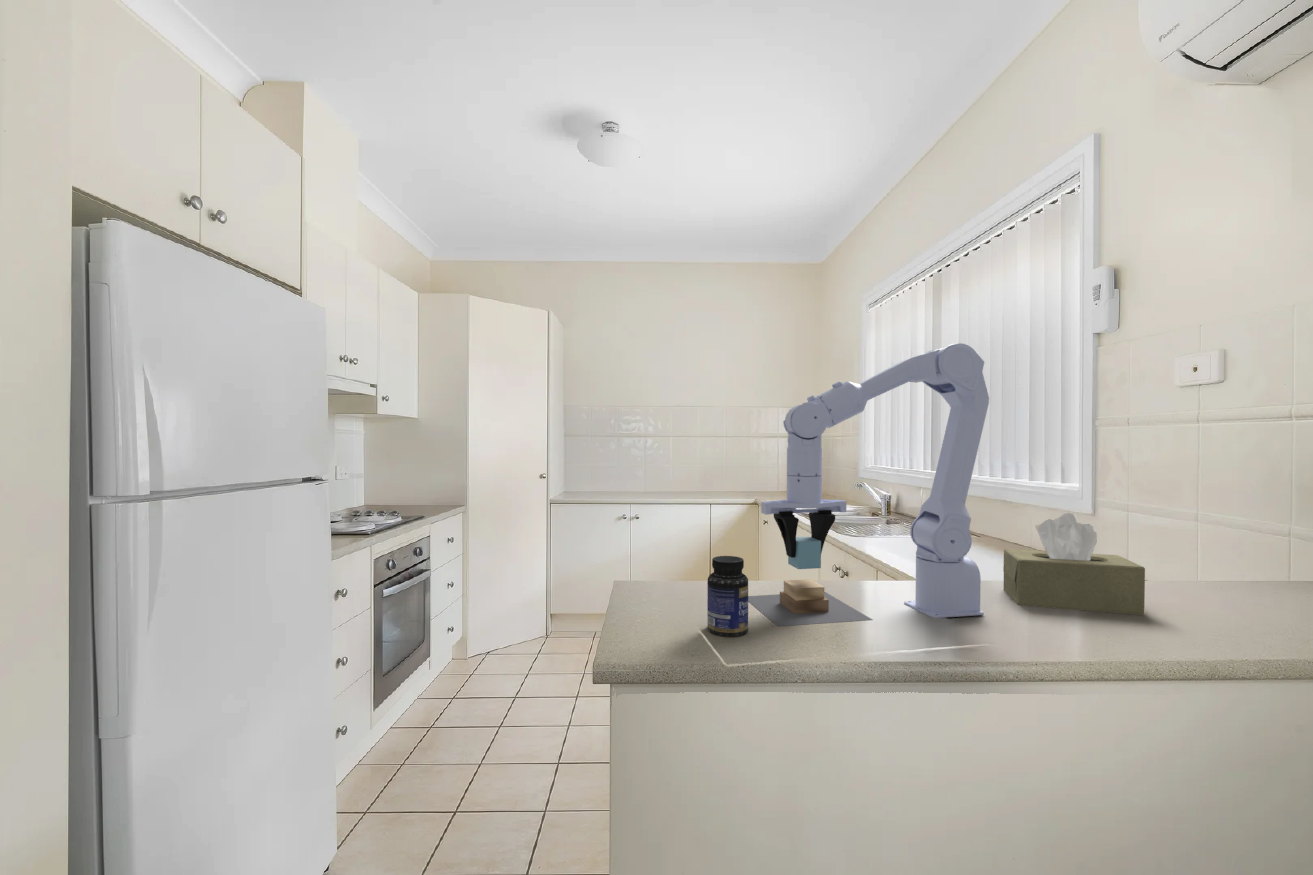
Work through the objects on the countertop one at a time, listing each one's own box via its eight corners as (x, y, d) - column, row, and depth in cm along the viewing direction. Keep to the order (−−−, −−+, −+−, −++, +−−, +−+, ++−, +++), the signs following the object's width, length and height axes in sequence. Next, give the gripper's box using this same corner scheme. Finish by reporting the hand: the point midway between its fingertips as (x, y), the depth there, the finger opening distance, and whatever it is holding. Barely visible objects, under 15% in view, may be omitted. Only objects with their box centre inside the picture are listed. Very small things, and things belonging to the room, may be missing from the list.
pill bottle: (747, 640, 84) (747, 564, 84) (705, 637, 85) (705, 562, 85) (749, 626, 90) (749, 555, 90) (709, 623, 91) (709, 553, 91)
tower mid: (810, 590, 101) (810, 579, 101) (824, 599, 97) (824, 587, 97) (783, 592, 101) (783, 580, 100) (796, 600, 96) (796, 588, 96)
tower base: (811, 601, 102) (812, 589, 102) (828, 611, 96) (828, 599, 96) (779, 603, 101) (779, 591, 101) (794, 614, 95) (794, 601, 95)
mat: (824, 593, 108) (824, 591, 108) (872, 621, 92) (872, 619, 92) (742, 598, 105) (742, 596, 105) (777, 628, 89) (777, 626, 89)
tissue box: (1120, 599, 105) (1121, 512, 105) (1147, 616, 96) (1148, 520, 95) (1001, 590, 111) (1002, 507, 110) (1015, 605, 101) (1017, 514, 101)
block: (809, 562, 101) (810, 536, 101) (820, 568, 97) (820, 541, 97) (788, 563, 100) (788, 537, 100) (798, 569, 96) (798, 541, 96)
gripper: (832, 472, 104) (831, 549, 104) (754, 473, 101) (754, 552, 101) (853, 476, 97) (852, 557, 97) (770, 477, 94) (770, 561, 94)
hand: (803, 555), depth 98 cm, fingers closed on block, 4 cm apart
